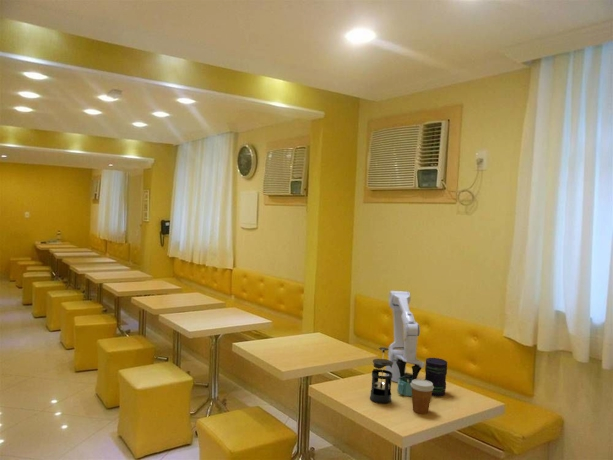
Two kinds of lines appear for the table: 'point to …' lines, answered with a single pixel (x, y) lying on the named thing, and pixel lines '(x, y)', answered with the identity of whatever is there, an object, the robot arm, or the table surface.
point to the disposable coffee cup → (421, 395)
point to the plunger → (408, 376)
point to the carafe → (404, 386)
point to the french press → (381, 389)
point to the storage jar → (436, 375)
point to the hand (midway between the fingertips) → (408, 378)
